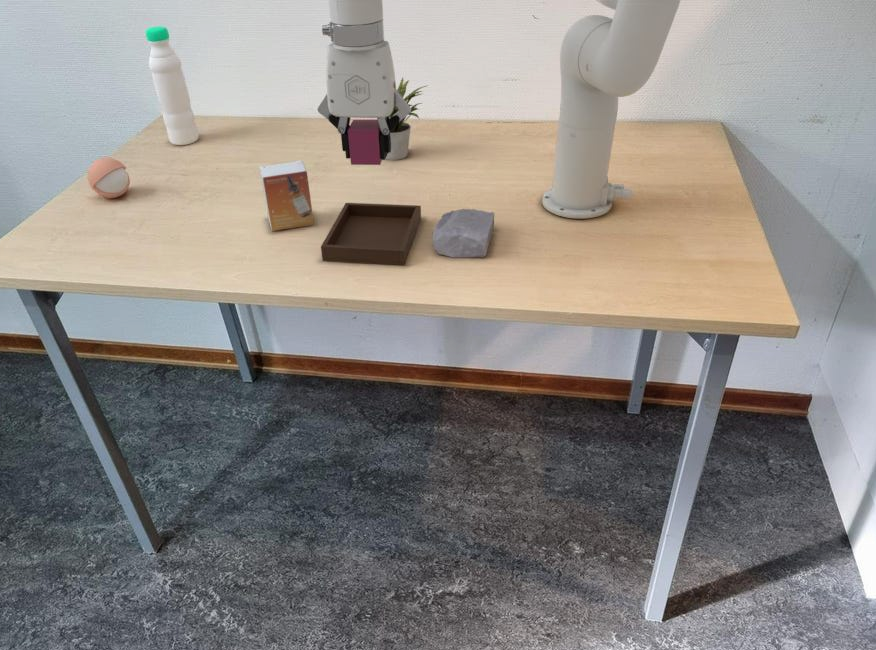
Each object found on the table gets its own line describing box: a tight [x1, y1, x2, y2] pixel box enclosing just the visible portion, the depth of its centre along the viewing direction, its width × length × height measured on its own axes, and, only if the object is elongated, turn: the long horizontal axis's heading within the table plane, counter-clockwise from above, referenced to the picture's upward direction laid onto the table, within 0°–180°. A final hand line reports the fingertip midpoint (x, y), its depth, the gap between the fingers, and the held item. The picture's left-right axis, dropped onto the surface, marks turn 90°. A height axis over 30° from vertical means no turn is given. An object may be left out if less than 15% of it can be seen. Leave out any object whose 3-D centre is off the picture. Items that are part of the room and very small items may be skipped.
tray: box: [320, 202, 422, 267], centre depth 116 cm, size 14×17×3 cm
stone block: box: [432, 208, 495, 259], centre depth 114 cm, size 12×5×10 cm
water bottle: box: [145, 26, 200, 146], centre depth 152 cm, size 7×7×25 cm
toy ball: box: [87, 157, 131, 199], centre depth 134 cm, size 8×8×8 cm
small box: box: [258, 159, 315, 232], centre depth 120 cm, size 8×6×10 cm
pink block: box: [348, 119, 383, 166], centre depth 106 cm, size 5×5×6 cm
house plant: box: [385, 77, 429, 161], centre depth 140 cm, size 14×14×16 cm
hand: (367, 154), depth 107 cm, fingers closed on pink block, 5 cm apart
